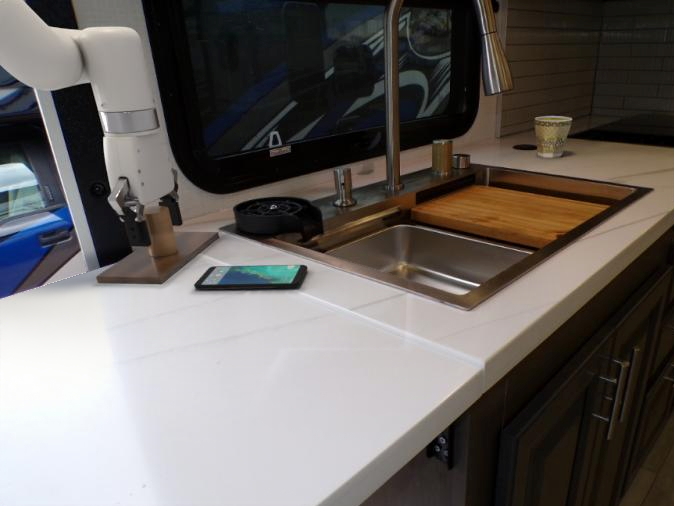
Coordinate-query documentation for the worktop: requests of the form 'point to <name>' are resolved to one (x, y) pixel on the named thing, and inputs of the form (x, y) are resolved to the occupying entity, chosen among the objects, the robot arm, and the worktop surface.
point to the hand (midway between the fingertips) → (158, 235)
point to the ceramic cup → (551, 135)
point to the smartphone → (252, 277)
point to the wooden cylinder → (160, 231)
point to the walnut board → (157, 261)
